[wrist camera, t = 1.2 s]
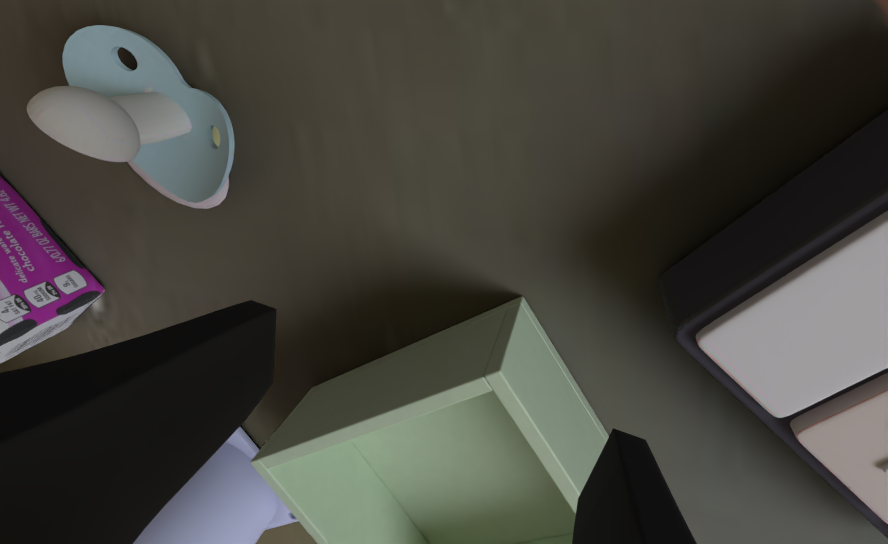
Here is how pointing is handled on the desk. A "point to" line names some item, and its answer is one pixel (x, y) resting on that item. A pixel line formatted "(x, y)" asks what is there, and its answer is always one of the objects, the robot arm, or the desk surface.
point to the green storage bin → (442, 442)
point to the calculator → (804, 315)
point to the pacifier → (139, 116)
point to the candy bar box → (36, 279)
